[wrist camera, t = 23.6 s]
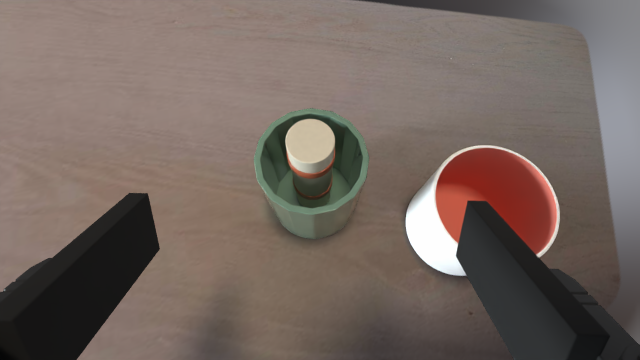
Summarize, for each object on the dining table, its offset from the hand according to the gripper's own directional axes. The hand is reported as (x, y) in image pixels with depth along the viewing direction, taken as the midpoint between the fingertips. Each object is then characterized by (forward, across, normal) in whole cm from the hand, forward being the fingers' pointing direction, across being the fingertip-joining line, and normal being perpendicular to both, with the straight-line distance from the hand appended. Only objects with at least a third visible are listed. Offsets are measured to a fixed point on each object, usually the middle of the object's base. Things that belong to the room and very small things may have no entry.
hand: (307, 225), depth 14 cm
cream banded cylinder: (+21, 0, -9) cm, 23 cm away
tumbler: (+21, 0, -10) cm, 23 cm away
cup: (+19, +14, -12) cm, 26 cm away
